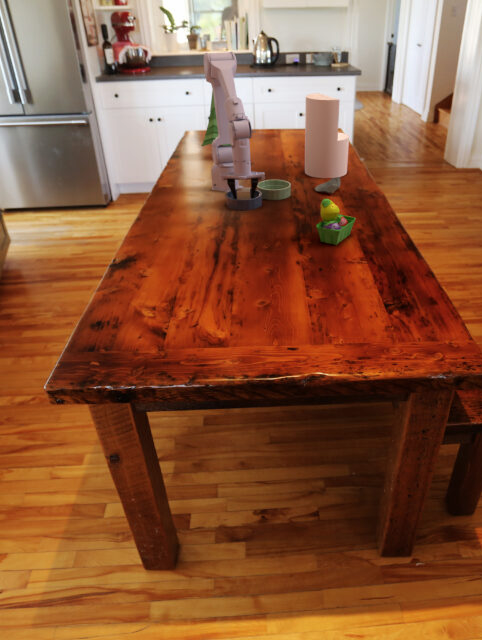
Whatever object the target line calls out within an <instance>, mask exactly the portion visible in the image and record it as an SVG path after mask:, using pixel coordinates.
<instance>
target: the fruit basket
mask: <svg viewBox="0 0 482 640" xmlns="http://www.w3.org/2000/svg"><path fill="white" fill-rule="evenodd" d="M340 212H341V211H340V207H339V206H338V205H337V204H336V203H335V202H333V201H332V200H331V199H329V198H323V199H322V200H321V203H320V217H321V219H322V220H321V221H320V222H319V223H317V224H316V229H317V233H318V235H319V239H320V242H322V243H326V244H330V245H334V246H337V245H338V244H339V243H341V242H342V241H343V240H345V239H346V238H347V237H348V236H350V235H351V233H352V229H353V226H354V224H355V222H356V217H353V216H349V215H344V214H340Z"/></svg>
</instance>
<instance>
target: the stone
mask: <svg viewBox="0 0 482 640" xmlns="http://www.w3.org/2000/svg"><path fill="white" fill-rule="evenodd" d="M340 187H341V177H336V178H330V180H327V181H326V182H323V183H320V184H317V186H315V187H314V190H315V192H318V193H322V194H329V195H333V194H334V193H335V192H336V191H337V190H339V188H340Z"/></svg>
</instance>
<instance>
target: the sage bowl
mask: <svg viewBox="0 0 482 640" xmlns="http://www.w3.org/2000/svg"><path fill="white" fill-rule="evenodd" d="M256 190H259V191H260V192H261V193H262V200H267V201H280V200H285V199H288V198H290V197H291V196H292V183H291V182H289V181H287V180H284V179H266V180H261V181H258V185H257V188H256Z"/></svg>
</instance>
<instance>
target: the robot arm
mask: <svg viewBox="0 0 482 640" xmlns="http://www.w3.org/2000/svg"><path fill="white" fill-rule="evenodd" d="M237 69H238V61H237V57H236V55H235V53H234V52H233V51H230V52H229V51H228V52H205V53H204V55H203V71H204V77H205V81H206V82H207V83H209V84H210V85H211V89H212V90H213V95H214V103H215V112H216V120H217V128H218V137H217V138H216V139H215V140H214V141H213V142H212V144H211V157H212V161H213V165H212V167H211V169H210V171H211V173H210V174H211V185H212V186H211V187H212V188H211V190H213V191H218V192H226V193H227V192H229V191H231V192H232V194H233V197H234V199H237V196H236V189H237V188H245V187H244V185H240V181H243V180H245V181H247V180H250V189H251V199H252V198H254V194H255V190H257V185H258V183H259V180H261V181H265V179H266V176H265V175H266V174H265V172H264V171H252V165H251V163H252V162H251V143H250V139H251V138H252V136H253V130H252V129H253V128H252V123H251V120H250V119H249V117H248V116H247V115H246V112H245V109H244V105H243V101H242V99H241V98H239V97H238V95H237V90H236V84H235V77H236V72H237ZM224 144H231V145H227V146H219V145H224Z"/></svg>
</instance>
